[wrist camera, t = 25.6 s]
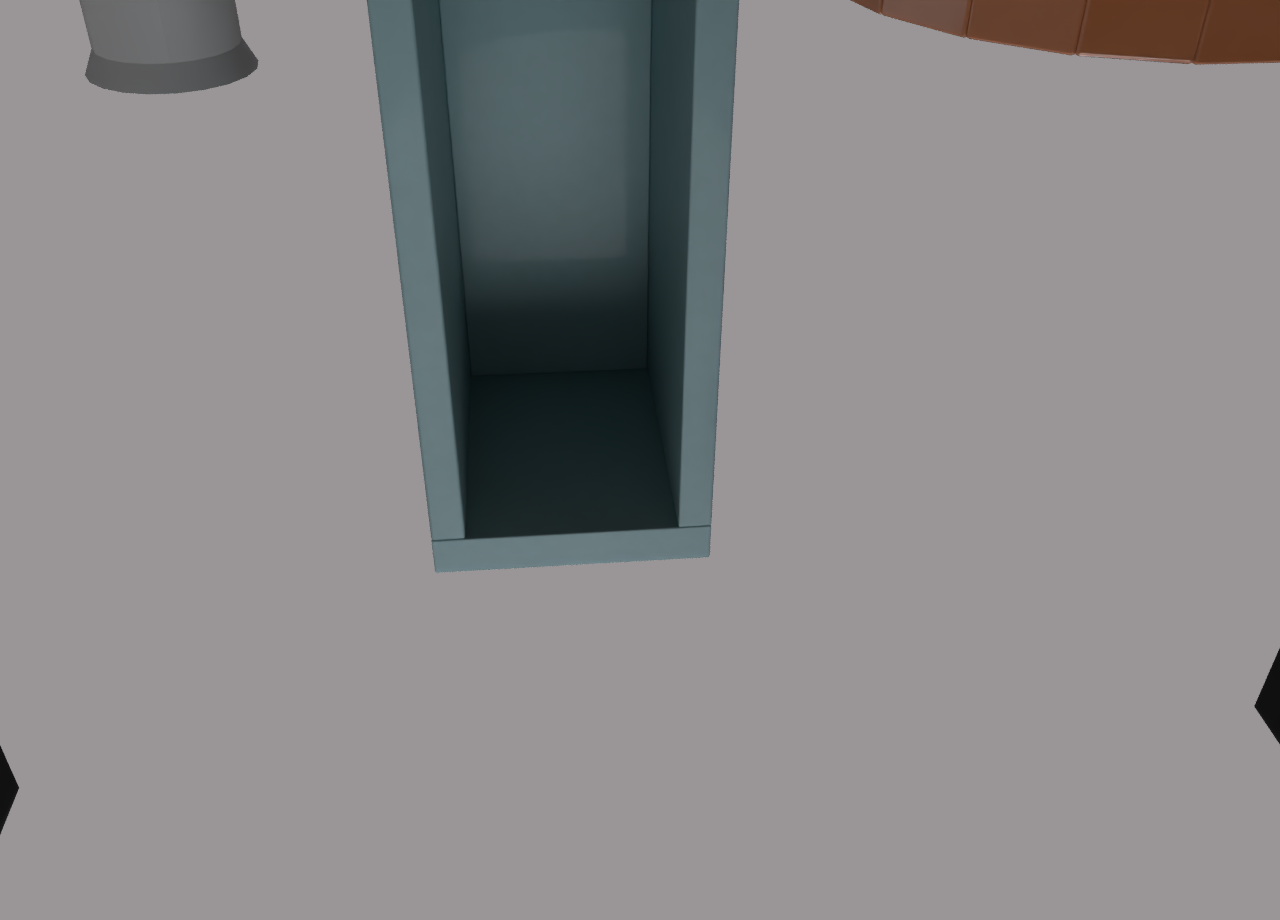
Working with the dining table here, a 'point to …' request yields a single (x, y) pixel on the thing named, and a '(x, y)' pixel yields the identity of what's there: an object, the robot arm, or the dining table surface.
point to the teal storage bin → (561, 268)
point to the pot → (1108, 26)
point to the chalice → (165, 45)
